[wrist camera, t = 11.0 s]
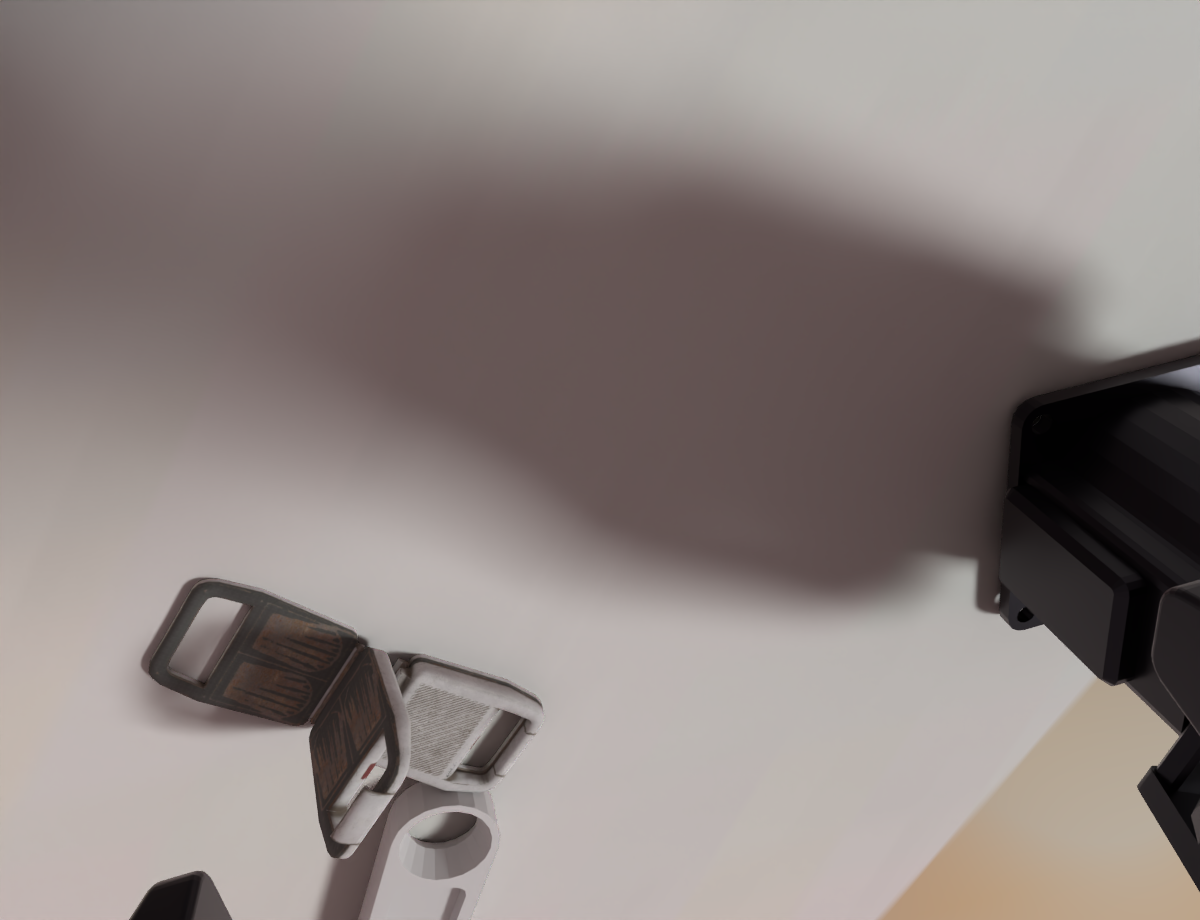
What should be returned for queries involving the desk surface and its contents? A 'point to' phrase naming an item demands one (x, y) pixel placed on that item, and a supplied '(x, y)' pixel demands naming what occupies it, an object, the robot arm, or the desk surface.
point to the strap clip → (352, 705)
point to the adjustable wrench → (431, 859)
